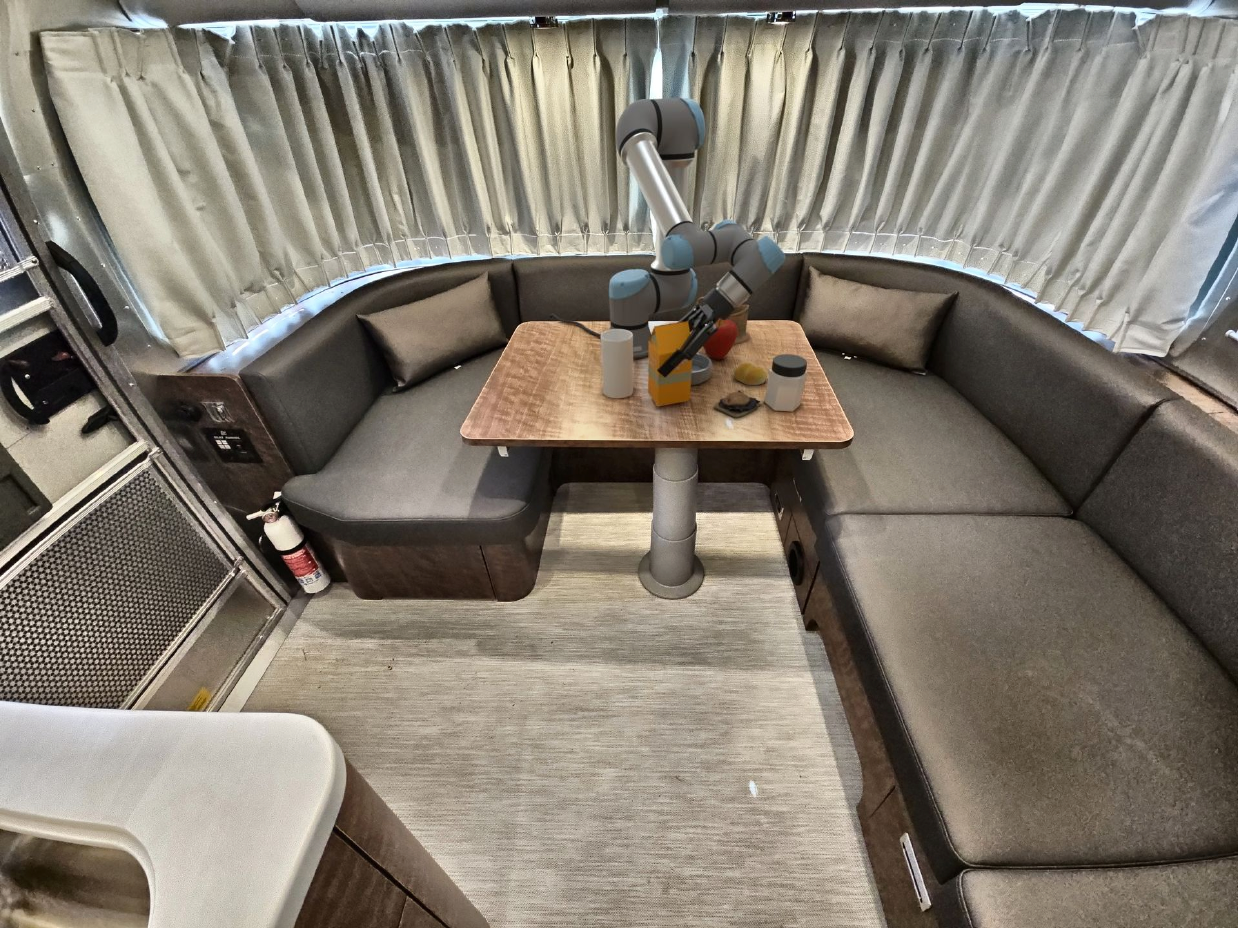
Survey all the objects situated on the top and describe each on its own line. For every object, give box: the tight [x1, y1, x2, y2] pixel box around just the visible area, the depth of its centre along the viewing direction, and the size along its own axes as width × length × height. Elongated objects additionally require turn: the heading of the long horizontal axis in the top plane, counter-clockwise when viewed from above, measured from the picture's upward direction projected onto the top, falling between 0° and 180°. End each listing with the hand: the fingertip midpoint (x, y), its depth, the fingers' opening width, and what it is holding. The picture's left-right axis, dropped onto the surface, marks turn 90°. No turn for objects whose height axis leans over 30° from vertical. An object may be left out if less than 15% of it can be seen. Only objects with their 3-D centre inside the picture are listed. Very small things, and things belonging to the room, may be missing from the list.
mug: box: [695, 296, 750, 345], centre depth 171 cm, size 12×18×12 cm, turn 67°
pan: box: [691, 352, 713, 386], centre depth 150 cm, size 14×14×4 cm
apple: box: [702, 318, 738, 361], centre depth 157 cm, size 11×11×12 cm
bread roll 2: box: [714, 390, 762, 419], centre depth 135 cm, size 11×8×4 cm
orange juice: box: [647, 321, 692, 407], centre depth 132 cm, size 8×9×20 cm
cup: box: [600, 329, 634, 399], centre depth 140 cm, size 8×8×16 cm
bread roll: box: [732, 362, 768, 386], centre depth 147 cm, size 8×9×4 cm
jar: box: [764, 353, 808, 412], centre depth 133 cm, size 9×8×12 cm
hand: (657, 366), depth 133 cm, fingers closed on orange juice, 8 cm apart
